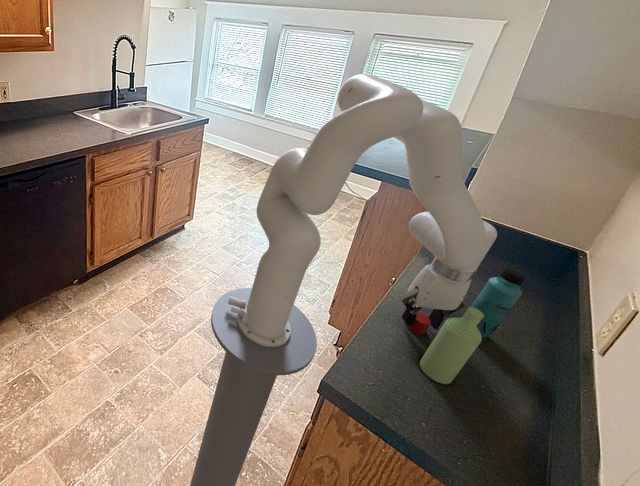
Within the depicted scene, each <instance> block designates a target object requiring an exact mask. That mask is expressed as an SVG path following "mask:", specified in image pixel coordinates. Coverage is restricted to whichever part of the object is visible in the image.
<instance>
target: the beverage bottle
mask: <svg viewBox="0 0 640 486" xmlns="http://www.w3.org/2000/svg"><path fill="white" fill-rule="evenodd" d="M525 279H526V275H525V273H524V272H522V271H521V270H519V269H517V268H515V267H510V266H506V267H505V268H503V270H502V271H501V272H500V273H499V276H494V277H490V278H488V281H487V282H486V284H485V285H484V286H483V288H482V289H481V290H480V293H479V294H478V295H477V297H476V298H475V299H474V300H473V302H472V303H471V304H470V306H469V307H473V308H476V309H478V310H480V311H481V312H482V313H483V314H484V317H483V319H481V321H480V322H479V323H478V325H477V328H478V329H479V331H480V333H481V336H482V338H489V337H490V336H493V334H494V333H495V331H496V330H497V329H498V327H499V326H500V325H501V324H502V322H503V319H504V318H505V317H506V316H507V315H508V313H509V312H510V311H511V310H512V309H513V308H514V304H516V302H517V301H518V300H519V298H520V297H521V296H522V294H523V293H522V290H521V289H520V287H519V286H522V285H523V283H524V281H525Z"/></svg>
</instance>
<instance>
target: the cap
mask: <svg viewBox="0 0 640 486" xmlns="http://www.w3.org/2000/svg"><path fill="white" fill-rule="evenodd" d="M416 315H417V317H416V319H415V321H414V322H413V324H412V326H411V327H408V326H407V328H408V330H410V331H411V332H412V333H414V334H416V335H419V336H422V335H424V334H425V333H426V332H427V330H428V329H429V327H430V326H431V320H430V319H429V316H427V315H426V314H424V313H422V312H420V311H418V312H417V313H416Z"/></svg>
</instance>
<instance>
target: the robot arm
mask: <svg viewBox="0 0 640 486" xmlns="http://www.w3.org/2000/svg"><path fill="white" fill-rule="evenodd" d="M336 100H337V101H336V103H337V106H338V108H339V110H340V111H341V112H340V113H338V114H336V115H335V116H333V117H332V118H330V119H328V120H327V121H326V122H325V123H324V124H323V125H322V126H321V127H320V128H319V129H318V130H317V132H316V133H315V135H314V136H313V138H312V140H311V142H310V144H309V146H308V148H305V147H296V148H292V149H288V150H287V151H285V152H284V153H282V154H281V155H280V156H279V157H278V158H277V160H276V161H275V162H274V163H273V166H272V167H271V170H270V173H269V175H268V176H267V179H266V182H265V185H264V187H263V189H262V191H261V194H260V196H259V199H258V202H257V205H256V217H257V220H258V222H259V224H260V226H261V228H262V230H263V232H264V235H265V237H266V238H267V240H268V248H267V250H266V251H265V252H263V254H262V255H261V258H260V259H259V262H258V266H257V268H256V272H255V277H254V279H253V284H252V287H251V288H252V290H251V294H250V297H248V299H247V301H246V300H243V301H241V300H238V299H237V298H234V297H231V296H230V297H229V301H228V304H230V305H233V306H232V308H231V312H234V313H238V316H237V323H238V326H239V328H240V330H241V331H242V333H243V334H244V335H245V336H246V337H247V338H248V339H250V340H251V341H253V342H255V343H256V344H259V345H262V346H266V347H278V346H281V345H283V344H285V343H286V342H287V341H288V339H289V337H290V334H291V326H290V323H289V321H288V319H289V316H290V313H291V310H292V307H293V305H295V302H296V300H297V296H298V294H299V291H300V289H301V285H302V282H303V279H304V277H305V274H306V273H307V270H308V268H309V266H310V264H311V263H312V261H313V260H314V258H315V257H316V256H317V254H318V252H319V250H320V248H321V243H322V242H321V241H322V240H321V234H320V232H319V229H318V227H317V225H316V223H315V222H314V220H313V219H311V216H319V215H320V216H321V215H322V214H325V213H326V212H328V211H329V210H330V209H331V208H332V207H333V205H334V204H335V202H336V201H337V198H338V197H339V196H340V193H341V191H342V189H343V187H344V186H345V184H346V181H347V179H348V178H349V176H350V174H351V172H352V170H353V169H354V167H355V165H356V163H357V162H358V160H359V158H360V157H362V155H363V154H364V153H365V152H366V151H367V150H369V149H370V148H372V147H373V146H375V145H377V144H379V143H381V142H383V141H387V140H388V139H392V138H394V139H396V140H397V141H399V142H401V143H402V144H403V145H404V147H405V155H406V162H407V170H408V171H407V172H408V182H409V186H410V189H411V191H412V192H413V193H414V195H415V196H416V198H417V199H418V201H419V202H420V204H421V205H422V206H423V208H425V209H426V210H427V211H423V212H419V213H417V214H416V215H414V216H413V217H412V218H411V219H410V220H409V222H408V231H409V233H410V234H411V236H412V237H413V238H414V239H415V240H416V241H417V242H418V243H419V244H420V245H422V247H424V248H425V249H426V250H427V251H428V252H429V253H431V254H432V255H433V256H434V257H433V259H432V261H431V263H430V264H427V265H425V266H424V267H423V268H422V269H421V270H420V271H419V272H418V274H417V275H416V276H415V278H414V279H413V281H412V282H411V283H410V285H409V287H408V289H407V291H406V292H405V293H402V294H400V295H399V300H401V302H402V303H403V305H404V306H405V310H404V312H403V313H402V315H401V319H402V321H403V322H404V323H405V325H406V327H407V328H408V327H411V326H412V324H413V322H414V321H415V319H416V317H417V315H416V313H417V312H420V311H421V310H422V309H423V308H424V309H433V310H432V311H431V313H430V314H429V316H428V318H429V319H430V320H431V324H430V326H431V327H432V329H434V330H439V329H440V326H441V325H442V323H443V322H444V320H445V319H449V317H450V315H452V314H454V313H456V312H457V311H459V310H461V309H464V308H465V307H466V304H465V302H464V300H465V297H466V295H467V293H468V291H469V288H470V286H471V283H472V277H473V276H474V274H475V272H478V270H479V267H480V265H481V263H482V261H483V260H484V258H485V257H486V255H487V253H488V252H489V251H490V249H491V247H492V246H493V245H494V243H495V241H496V239H497V237H498V231H497V229H496V228H495V226H493V225H492V224H491V223H489V222H487V221H485V220H483V218H482V215H481V213H480V210H479V208H478V206H477V205H476V203H475V201H474V199H473V196H472V194H471V193H470V191H469V189H468V188H467V186H466V184H465V182H464V179H463V178H464V177H463V171H464V170H463V137H462V136H463V133H462V124H461V122H460V119H459V118H458V116H457V115H455V114H454V113H453V112H451V111H449V110H447V109H445V108H443V107H441V106H438V105H436V104H433V103H431V102H429V101H426V100H425V99H422V98H420V96H418V94H416V93H415V92H414V91H412V90H410V89H409V88H407V87H404V86H402V85H400V84H397V83H394V82H391V81H389V80H386V79H384V78H381V77H379V76H376V75H373V74H369V73H360V74H356V75H353V76H351V77H349V78H348V79H346V80H345V81H344V82H343V83H342V85H341V86H340V88H339V90H338V91H337V97H336ZM309 215H310V216H309ZM413 305H415V306H414V307H413ZM234 306H237V307H240V309H239V308H237V307H234Z"/></svg>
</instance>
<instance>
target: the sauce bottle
mask: <svg viewBox="0 0 640 486" xmlns="http://www.w3.org/2000/svg"><path fill="white" fill-rule="evenodd" d="M483 317H484V314H483V313H482V312H481V311H480V310H478V309H476V308H473V307H471V306H469V307H467V308H466V311H465V312H464V314H463V315H462V316H461V317H450V318H446V320H445V321H444V323H443V325H442V326H441V327H440V328H439V330H438V331H437V334H436V335H435V336H434V339H433V340H432V341H431V343H430V344H429V346H428V347H427V350H426V351H425V352H424V354H423V356H422V357H421V359H420V360H419V367H420V369H421V371H423V373H424V374H425V375H426V376H427V377H428V378H430V379H431V380H433V381H434V382H436V383H439V384H443V385H449V384H452V382H453V381H454V380H455V378H456V377H457V375H459V373H460V371H461V370H462V369H463V367H464V366H465V365H466V363H467V362H468V360H469V359H470V357H471V356H472V355H473V354H474V352H475V351H476V349H477V348H478V347H479V346H480V345H481V343H482V340H483V337H482V336H481V333H480V331H479V329H478V328H477V325H478V323H479V322H480V321H481V319H483Z"/></svg>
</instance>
